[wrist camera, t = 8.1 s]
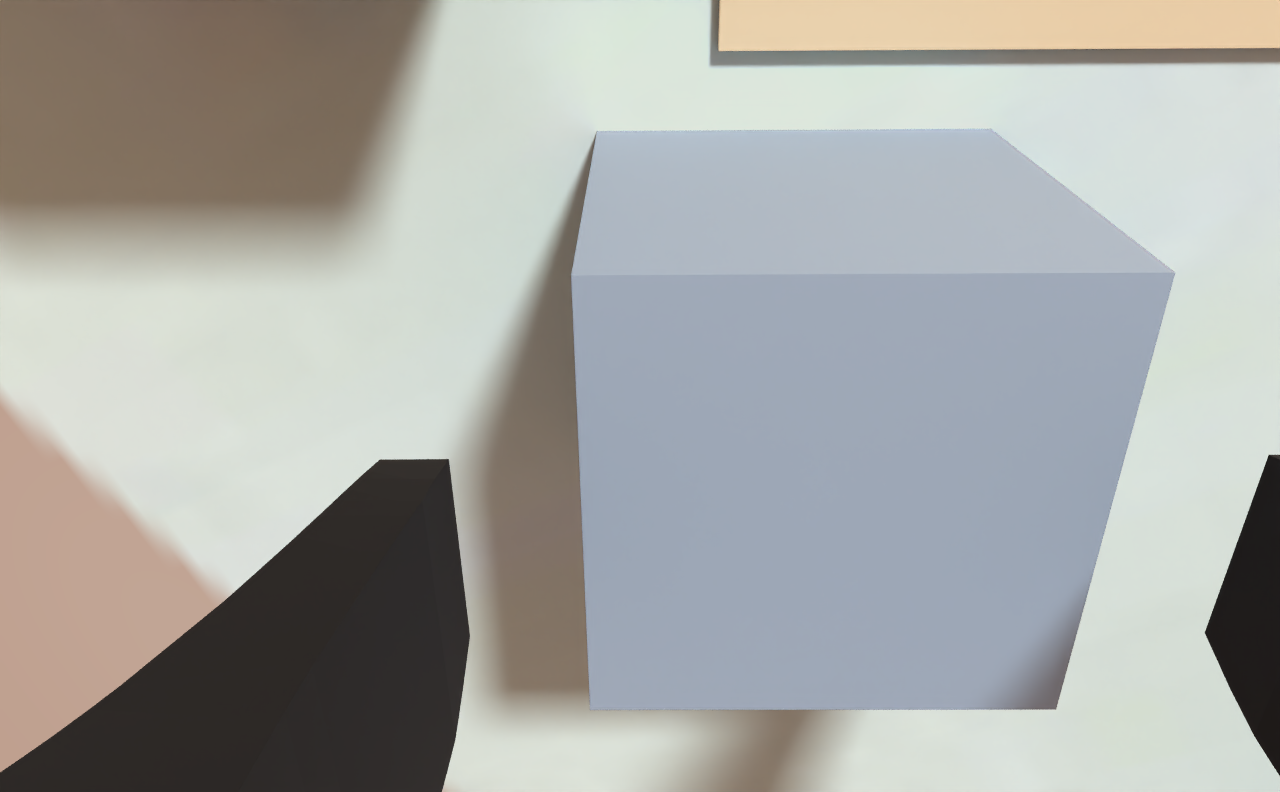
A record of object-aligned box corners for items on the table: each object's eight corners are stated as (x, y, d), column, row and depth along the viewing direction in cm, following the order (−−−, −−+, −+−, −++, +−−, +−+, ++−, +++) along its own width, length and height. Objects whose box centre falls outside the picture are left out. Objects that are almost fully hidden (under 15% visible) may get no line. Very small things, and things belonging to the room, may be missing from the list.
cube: (935, 459, 15) (1055, 709, 10) (606, 460, 15) (589, 710, 11) (988, 127, 12) (1175, 272, 8) (597, 129, 13) (570, 275, 8)
